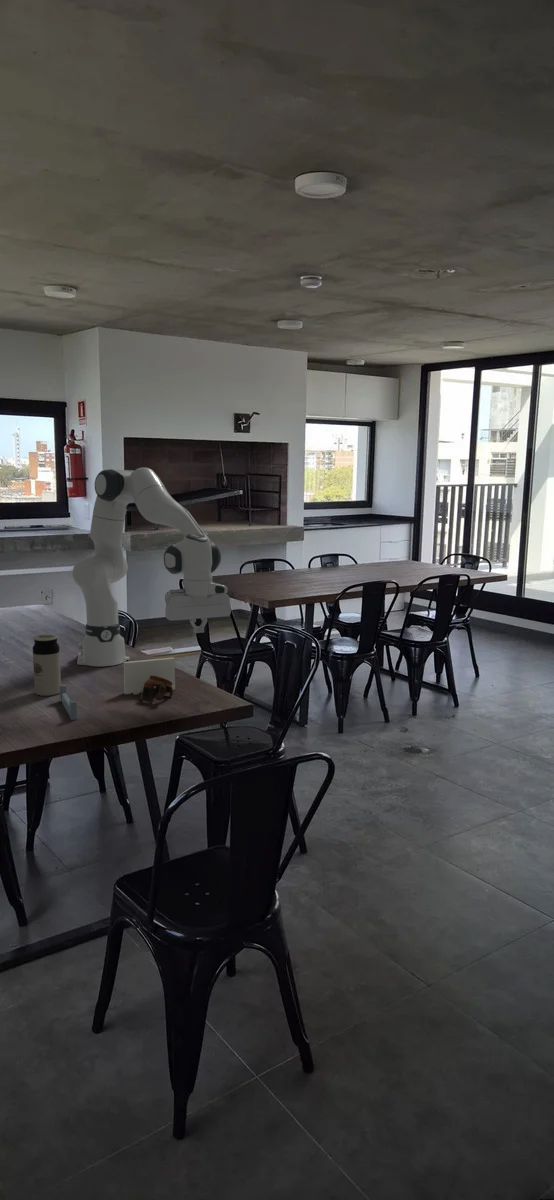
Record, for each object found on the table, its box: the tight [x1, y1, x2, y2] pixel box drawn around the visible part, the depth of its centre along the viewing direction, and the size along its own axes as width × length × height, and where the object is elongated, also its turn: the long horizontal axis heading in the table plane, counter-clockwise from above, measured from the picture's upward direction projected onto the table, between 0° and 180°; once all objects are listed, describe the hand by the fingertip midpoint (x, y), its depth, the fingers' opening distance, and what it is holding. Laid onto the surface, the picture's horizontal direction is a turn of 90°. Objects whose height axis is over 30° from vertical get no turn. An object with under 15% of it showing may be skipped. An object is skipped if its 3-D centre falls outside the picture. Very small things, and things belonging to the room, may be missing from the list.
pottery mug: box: [140, 676, 174, 703], centre depth 245 cm, size 12×10×8 cm
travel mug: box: [32, 633, 62, 697], centre depth 250 cm, size 8×8×18 cm
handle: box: [59, 683, 78, 721], centre depth 235 cm, size 20×2×5 cm, turn 24°
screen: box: [123, 656, 176, 695], centre depth 254 cm, size 4×16×10 cm, turn 113°
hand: (198, 632), depth 247 cm, fingers closed
